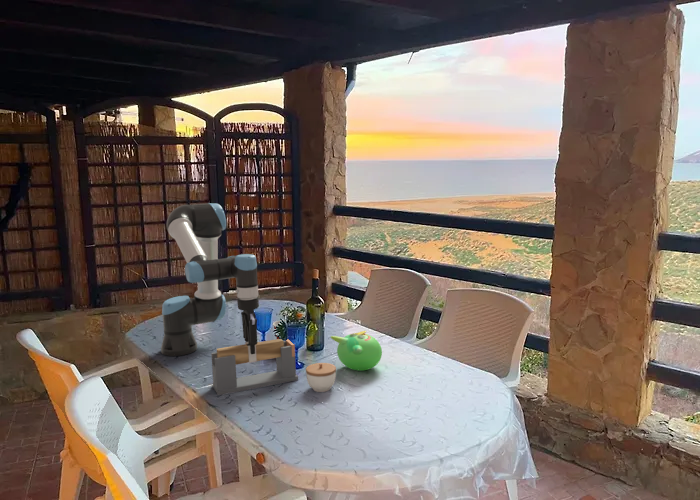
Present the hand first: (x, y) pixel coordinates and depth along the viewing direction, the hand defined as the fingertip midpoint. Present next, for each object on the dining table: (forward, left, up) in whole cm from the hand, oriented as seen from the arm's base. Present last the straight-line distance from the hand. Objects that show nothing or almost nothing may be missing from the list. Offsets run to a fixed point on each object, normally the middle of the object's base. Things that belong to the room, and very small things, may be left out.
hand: (251, 360), depth 201 cm
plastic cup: (-30, +23, -9) cm, 39 cm away
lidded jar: (+16, +21, -9) cm, 28 cm away
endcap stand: (0, +2, -9) cm, 9 cm away
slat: (0, 0, 0) cm, 0 cm away
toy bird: (+5, +41, -9) cm, 42 cm away
